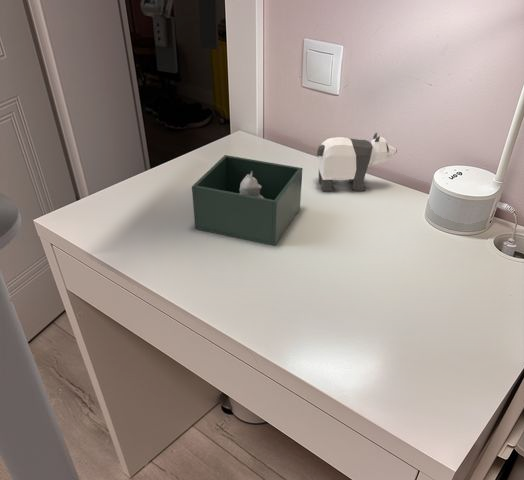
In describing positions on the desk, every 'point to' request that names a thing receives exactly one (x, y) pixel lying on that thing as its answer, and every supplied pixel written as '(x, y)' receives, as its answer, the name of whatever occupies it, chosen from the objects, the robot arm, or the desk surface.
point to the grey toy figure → (250, 186)
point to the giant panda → (350, 160)
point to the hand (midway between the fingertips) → (189, 59)
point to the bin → (247, 199)
